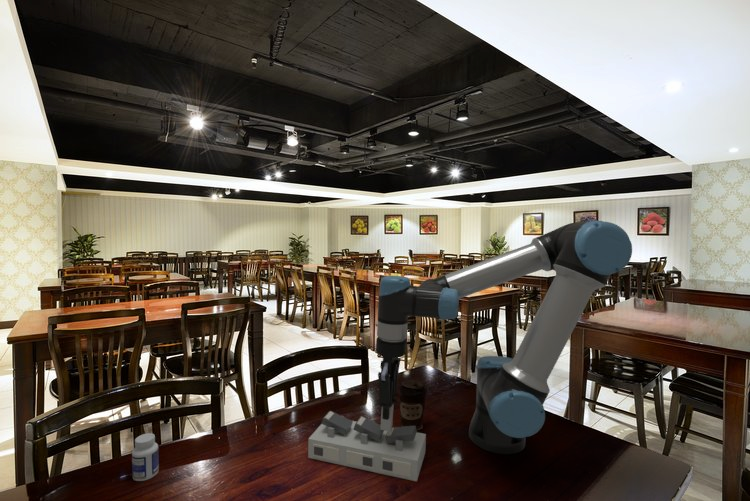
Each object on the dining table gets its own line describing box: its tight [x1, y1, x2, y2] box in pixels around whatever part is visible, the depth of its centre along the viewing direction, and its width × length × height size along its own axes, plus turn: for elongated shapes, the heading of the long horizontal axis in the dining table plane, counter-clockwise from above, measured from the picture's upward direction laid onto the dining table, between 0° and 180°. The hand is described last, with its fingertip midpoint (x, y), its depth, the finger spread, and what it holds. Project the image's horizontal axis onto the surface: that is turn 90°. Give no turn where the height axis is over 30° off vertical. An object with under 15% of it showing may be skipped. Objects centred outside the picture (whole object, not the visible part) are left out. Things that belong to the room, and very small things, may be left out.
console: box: [307, 415, 427, 482], centre depth 95 cm, size 28×12×7 cm, turn 73°
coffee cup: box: [398, 379, 428, 431], centre depth 110 cm, size 9×8×13 cm
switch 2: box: [353, 415, 384, 442], centre depth 95 cm, size 7×5×3 cm
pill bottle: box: [131, 432, 160, 482], centre depth 87 cm, size 5×5×9 cm
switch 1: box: [320, 410, 354, 435], centre depth 98 cm, size 7×5×3 cm
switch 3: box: [385, 426, 418, 443], centre depth 93 cm, size 7×5×3 cm
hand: (386, 429), depth 94 cm, fingers closed
